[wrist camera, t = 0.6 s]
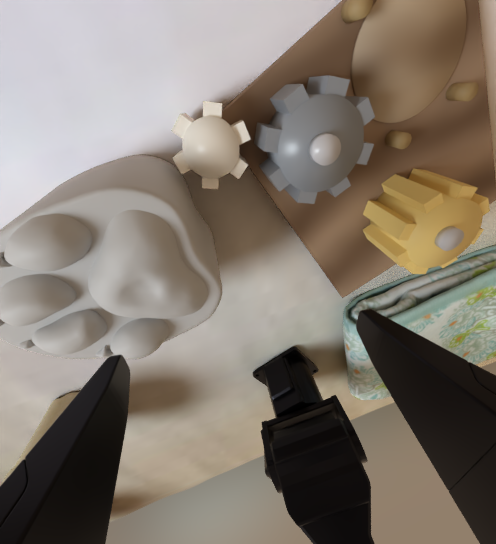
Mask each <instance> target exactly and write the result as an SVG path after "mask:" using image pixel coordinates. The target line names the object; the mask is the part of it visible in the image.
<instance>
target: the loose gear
mask: <svg viewBox="0 0 496 544" xmlns="http://www.w3.org/2000/svg"><path fill="white" fill-rule="evenodd" d="M381 185H382V187H383V190H384V192H383V193H382V194H381V195H380V196H379V198H378V199H377V201H371V200H368V202H367V205H366V207H365V210H364V212H363V215H364V216H366V217H367V218H368V219H370V225H369V226H367V227H366V228H364V229H363V232H364V234H365V236H366V238H367V239H368V240H369V241H370V242H371V243H372V244H374V245H375V246H376V247H377V248H378V249H380V250H381V251H382V252H383V253H384V254H386V255H387V256H388V257H389V258H391V259H392V260H393V261H394V262H395V263H397V264H398V265H399V266H400V267H402V266H403V267H405V268H406V269H407V270H408V271H409V272H411V273H412V274H426V272H427V270H428V269H429V268H432V267H437V266H440V267H442V268H445V267H446V266H448V265H449V264H451V263H453V262H454V261H456V260H458V259H457V256H458V255H459V254H461V253H462V252H463V251H464V250H465V249H466V248H467V247H468V246H469V245H470V244H474V243H475V242H476V240H477V239H478V237H479V236H480V235H481V233H482V232H483V230H484V229H482V228H480V226H481V223H482V216H483V215H485V214H486V213H488V212H489V211H490V209H489V200H488V198H487V197H484V196H481V195H478V194H476V193H475V192H476V190H477V187H474V186H471V185H468V184H466V183H463V182H460V181H457V180H454V179H451V178H448V177H445V176H442V175H439V174H436V173H433V172H430V171H427V170H422V169H415V168H413V170H412V172H411V174H410V176H409V178H408V179H406V178H404V177H401V176H399V175H397V174H394V175H393V176H392V177H390V178H389V179H388V180H386V181H385V182H383V183H382V184H381Z"/></svg>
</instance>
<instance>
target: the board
mask: <svg viewBox="0 0 496 544" xmlns="http://www.w3.org/2000/svg"><path fill="white" fill-rule="evenodd" d="M328 75H330V76H335V77H339V78H344V79H349V80H350V82H349V85H348V89H347V92H346V96H357V97H368V98H369V101H370V104H371V107H372V110H373V112H374V115H375V118H373V119H372V120H371V121H370V122H368V123H367V124H366V125H365V126H363V128H364V140H363V141H365V142H369V143H372V144H374V146H373V149H372V151H371V154H370V157H369V160H368V162H367V165H363V164H355V166H354V167H353V169H352V170H351V172H350V173H349V174H348V175H347V178H348V180H349V182H350V184H351V186H350V187H348V188H347V189H346V190H344V191H343V192H342V193H340V194H339V195H338V196H336V197H334V196H333V195H331V194H330V193H329V192H327V191H326V190H325V191H321V192H317V196H316V199H315V203H314V204H309V203H297V202H296V201H295V200H294V199H293V198H292V197H291V196H290V195H289V194H288V193H287V191H286V190H285V188H284V189H283V190H281V191H280V192H279V191H278V190H277V189H276V188H275V186H274V185H273V184H272V183H271V182H270V181H269V180H268V178H267V177H266V176H265V174H264V173H263V171H262V170H261V168H260V167H259V165H260V164H262V163H263V162H264V161H265V160H266V159H268V155H267V152H265V151H263V150H262V149H260V148H259V147H258V146H257V145H256V144H254V140H255V133H256V126H257V123H264V124H270V121H271V119H272V117H273V116H274V114H275V112H276V109H275V107H274V106H273V104H272V102H271V100H270V98H271V97H272V96H273V95H275V94H276V93H277V92H278V91H279V90H280V89H281V88H282V87H284V86H285V85H286V84H303V86H304V88H305V90H306V89H307V84H308V80H309V77H317V76H328ZM222 119H223V120H225V121H226V122H227V123H229V125H232V124H234V123H236V122H237V121H239V120H242V121H244V124H245V126H246V129H247V131H248V134H249V136H250V140H248V141H246V142H244V143H242V144H240V145H239V153H240V155H241V156H242V157H243V158H245V160H246V162H247V164H248V166H249V167H250V169H251V170H252V172H253V173H254V175H255V176H256V177H257V179H258V180H259V182H260V183H261V184H262V186H263V187H264V189H265V190H266V191H267V193H268V194H269V196H270V197H271V198H272V200H273V201H274V203H275V204H276V205H277V207H278V208H279V210H280V211H281V212H282V214H283V215H284V217H285V218H286V220H287V221H288V222H289V224H290V225H291V227H292V228H293V229H294V231H295V232H296V234H297V235H298V236H299V238H300V239H301V241H302V242H303V243H304V245H305V246H306V248H307V249H308V250H309V252H310V253H311V255H312V256H313V257H314V259H315V260H316V262H317V263H318V264H319V266H320V267H321V269H322V270H323V272H324V273H325V274H326V276H327V277H328V279H329V280H330V281H331V283H332V284H333V286H334V287H335V288H336V290H337V291H338V293H339V294H340V295H341V297H342V298H343V297H345V296H347V295H348V294H350V293H351V292H353V291H354V290H356V289H358V288H359V287H361V286H362V285H364V284H365V283H367V282H368V281H370V280H372V279H373V278H375V277H376V276H378V275H379V274H381V273H383V272H384V271H386V270H387V269H389V268H390V267H392V266H393V265H395V264H397V263H395V262H394V261H393V260H392V259H391V258H389V257H388V256H387V255H386V254H384V253H383V252H382V251H381V250H380V249H378V248H377V247H376V246H375V245H374V244H372V243H371V242H370V241H369V240H368V239H367V238H366V236H365V234H364V232H363V229H364V228H366V227H367V226H369V225H370V219H368V218H367V217H366V216H364V215H363V212H364V210H365V207H366V205H367V202H368V200H371V201H377V199H378V198H379V196H380V195H381V194H382V193H383V192H384V190H383V187H382V185H381V184H382V183H383V182H385V181H386V180H388V179H389V178H390V177H392V176H393V175H394V174H397V175H399V176H401V177H404V178H406V179H408V178H409V176H410V174H411V172H412V170H413V168H415V169H422V170H427V171H430V172H433V173H436V174H439V175H442V176H445V177H448V178H451V179H454V180H457V181H460V182H463V183H466V184H468V185H471V186H474V187H477V190H476V192H475V193H476V194H478V195H481V196H484V197H487V198H488V200H489V204H490V203H492V202H493V201H495V200H496V180H495V170H494V159H493V149H492V139H491V128H490V118H489V107H488V97H487V86H486V76H485V65H484V55H483V44H482V34H481V24H480V13H479V3H478V0H342V1H341V2H340V3H339V4H338V5H337V6H336V7H334V8H333V9H332V10H331V11H330V12H329V13H328V14H327V15H326V16H325V17H323V18H322V19H321V20H320V21H319V22H318V23H317V24H316V25H315V26H314V27H313V28H311V29H310V30H309V31H308V32H307V33H306V34H305V35H304V36H303V37H302V38H300V39H299V40H298V41H297V42H296V43H295V44H294V45H293V46H292V47H291V48H289V49H288V50H287V51H286V52H285V53H284V54H283V55H282V56H281V57H280V58H279V59H277V60H276V61H275V62H274V63H273V64H272V65H271V66H270V67H269V68H268V69H266V70H265V71H264V72H263V73H262V74H261V75H260V76H259V77H258V78H257V79H256V80H254V81H253V82H252V83H251V84H250V85H249V86H248V87H247V88H246V89H245V90H243V91H242V92H241V93H240V94H239V95H238V96H237V97H236V98H235V99H234V100H232V101H231V102H230V103H229V104H228V105H227V106H226V107H225V108H224V109H223V110H222Z"/></svg>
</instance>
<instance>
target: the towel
mask: <svg viewBox="0 0 496 544" xmlns="http://www.w3.org/2000/svg"><path fill="white" fill-rule="evenodd" d="M457 259H458V260H456V261H454V262H453V263H451V264H449V265H448V266H446V267H445V268H442V267H440V266H437V267H432V268H429V269H428V270H427V272H426V274H412V275H409V276H407V277H404V278H401V279H399V280H396V281H394V282H391V283H388V284H385V285H383V286H380V287H377V288H375V289H373V290H370V291H368V292H366V293H364V294H362V295H361V296H359V297H357V298H355V299H354V300H353V301H352V302H351V303H350V304H348V305H347V306H346V307H345V309H344V313H343V318H344V319H343V336H344V344H345V353H346V361H347V369H348V385H349V389H350V392H351V394H352V395H353V396H354V397H355V398H357V399H360V400H372V399H383V398H387V397H390V396H391V394H390V393H389V391H388V389H387V388H386V386H385V384H384V383H383V381H382V379H381V378H380V376H379V374H378V373H377V371H376V369H375V368H374V366H373V364H372V362H371V360H370V358H369V356H368V353H367V351H366V349H365V347H364V345H363V343H362V341H361V338H360V336H359V334H358V332H357V329H356V323H357V319H358V315H359V312H360V311H361V310H365V309H372V310H374V311H376V312H378V313H380V314H381V315H383V316H385V317H387V318H389V319H391V320H393V321H394V322H396V323H398V324H400V325H402V326H404V327H406V328H407V329H409V330H411V331H413V332H415V333H417V334H419V335H420V336H422V337H424V338H426V339H428V340H430V341H432V342H433V343H435V344H437V345H439V346H441V347H443V348H445V349H447V350H448V351H450V352H452V353H454V354H456V355H458V356H460V357H461V358H463V359H465V360H467V361H468V362H471V363H473V364H478V363H481V362H483V361H486V360H488V359H491V358H494V357H496V245H493V246H490V247H486V248H483V249H480V250H477V251H474V252H472V253H469V254H466V255H464V256H461V257H459V258H457Z"/></svg>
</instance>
